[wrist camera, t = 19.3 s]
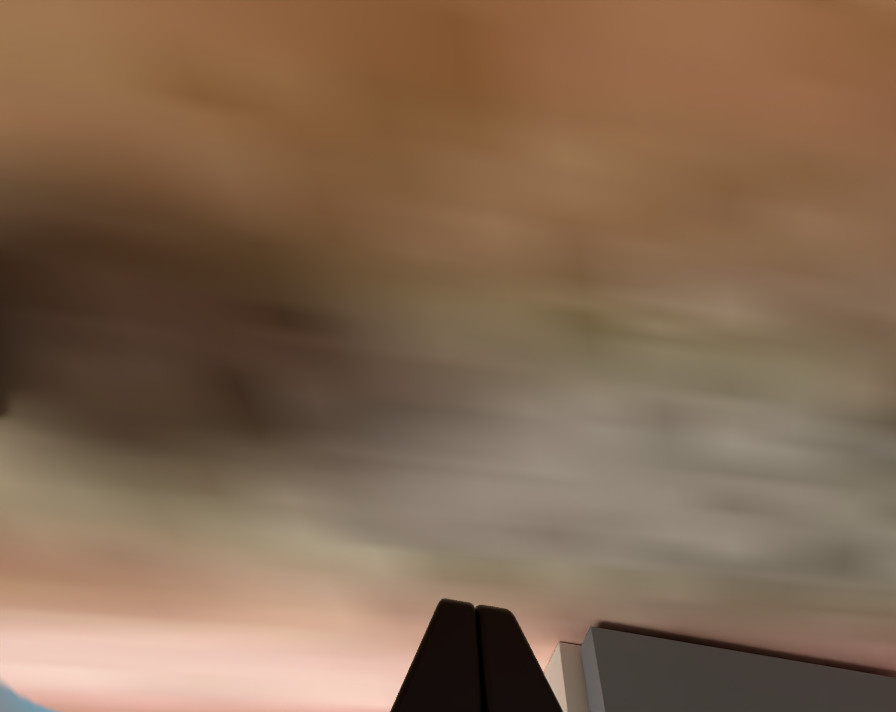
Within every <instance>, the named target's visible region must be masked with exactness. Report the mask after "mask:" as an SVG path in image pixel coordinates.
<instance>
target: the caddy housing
mask: <svg viewBox="0 0 896 712" xmlns="http://www.w3.org/2000/svg"><path fill="white" fill-rule="evenodd" d="M544 675H545V677H546V679H547V681H548V683H549V685H550V687H551V688H552V690H553V692H554V694H555V696H556V698H557V700H558V702H559V704H560V706H561V708H562V710H563V712H590V707H589V700H588V694H587V687H586V680H585V674H584V667H583V660H582V654H581V646H580V645H574V644H568V643H562V642H559V643H558V645H557V647H556V649H555V651H554V654H553V656H552V658H551V660H550V662H549V664H548V666H547V668H546V670H545V673H544Z"/></svg>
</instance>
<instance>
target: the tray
mask: <svg viewBox="0 0 896 712" xmlns="http://www.w3.org/2000/svg"><path fill="white" fill-rule="evenodd" d="M581 654H582V660H583V667H584V674H585V680H586V687H587V694H588V700H589V707H590V712H896V678H894V677H888V676H882V675H876V674H871V673H865V672H859V671H853V670H847V669H841V668H835V667H829V666H823V665H817V664H811V663H805V662H799V661H793V660H787V659H781V658H775V657H769V656H763V655H758V654H752V653H746V652H740V651H734V650H728V649H722V648H716V647H710V646H704V645H698V644H692V643H686V642H680V641H674V640H668V639H662V638H656V637H651V636H645V635H639V634H633V633H627V632H621V631H615V630H609V629H603V628H597V627H590V629H589V631H588V633H587V635H586V637H585V639H584V641H583V643H582V645H581Z"/></svg>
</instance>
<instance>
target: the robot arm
mask: <svg viewBox="0 0 896 712" xmlns="http://www.w3.org/2000/svg"><path fill="white" fill-rule="evenodd" d="M390 712H563V710H562V708H561V706H560V704H559V702H558V700H557V698H556V696H555V694H554V692H553V690H552V688H551V687H550V685H549V683H548V681H547V679H546V677H545V675H544V673H543V671H542V669H541V667H540V665H539V663H538V661H537V659H536V657H535V655H534V653H533V651H532V649H531V647H530V645H529V643H528V642H527V640H526V638H525V636H524V634H523V632H522V630H521V628H520V626H519V624H518V622H517V620H516V618H515V616H514V615H513V613H512V612H511V611H509V610H508V609H505V608H499V607H493V606H487V605H478V606H477V607H476V608H475V607H474V605H473V604H471V603H469V602H463V601H457V600H451V599H442V600H441V601H440V602H439V603H438V605H437V607H436V610H435V612H434V614H433V616H432V619H431V621H430V623H429V625H428V628H427V630H426V632H425V634H424V637H423V639H422V641H421V643H420V646H419V648H418V650H417V652H416V655H415V657H414V659H413V661H412V664H411V666H410V668H409V670H408V673H407V675H406V677H405V679H404V682H403V684H402V686H401V688H400V691H399V693H398V695H397V697H396V700H395V702H394V704H393V706H392V709H391V711H390Z"/></svg>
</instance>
